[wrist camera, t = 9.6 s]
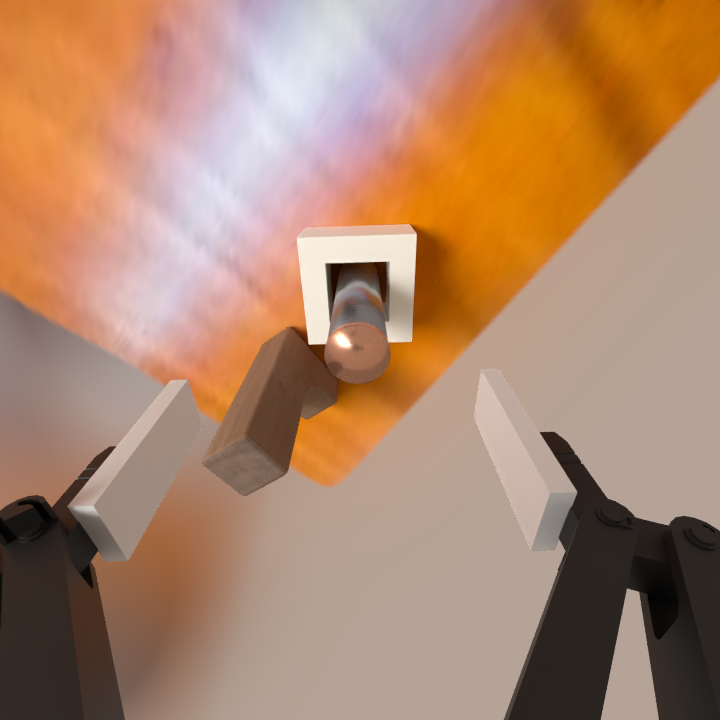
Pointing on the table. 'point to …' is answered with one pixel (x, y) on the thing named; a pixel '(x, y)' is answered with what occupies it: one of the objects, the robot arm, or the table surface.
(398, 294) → the socket
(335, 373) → the peg
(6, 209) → the table surface
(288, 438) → the wooden block
